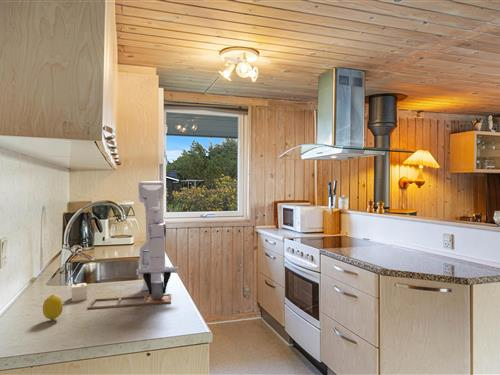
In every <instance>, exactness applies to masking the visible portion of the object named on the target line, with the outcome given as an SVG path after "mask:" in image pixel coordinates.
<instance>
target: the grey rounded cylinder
mask: <svg viewBox="0 0 500 375" xmlns="http://www.w3.org/2000/svg"><path fill="white" fill-rule="evenodd" d="M163 289H164V280H161V281H154V282H151V298H152V299H161V298H163V297H164V294H163Z"/></svg>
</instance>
